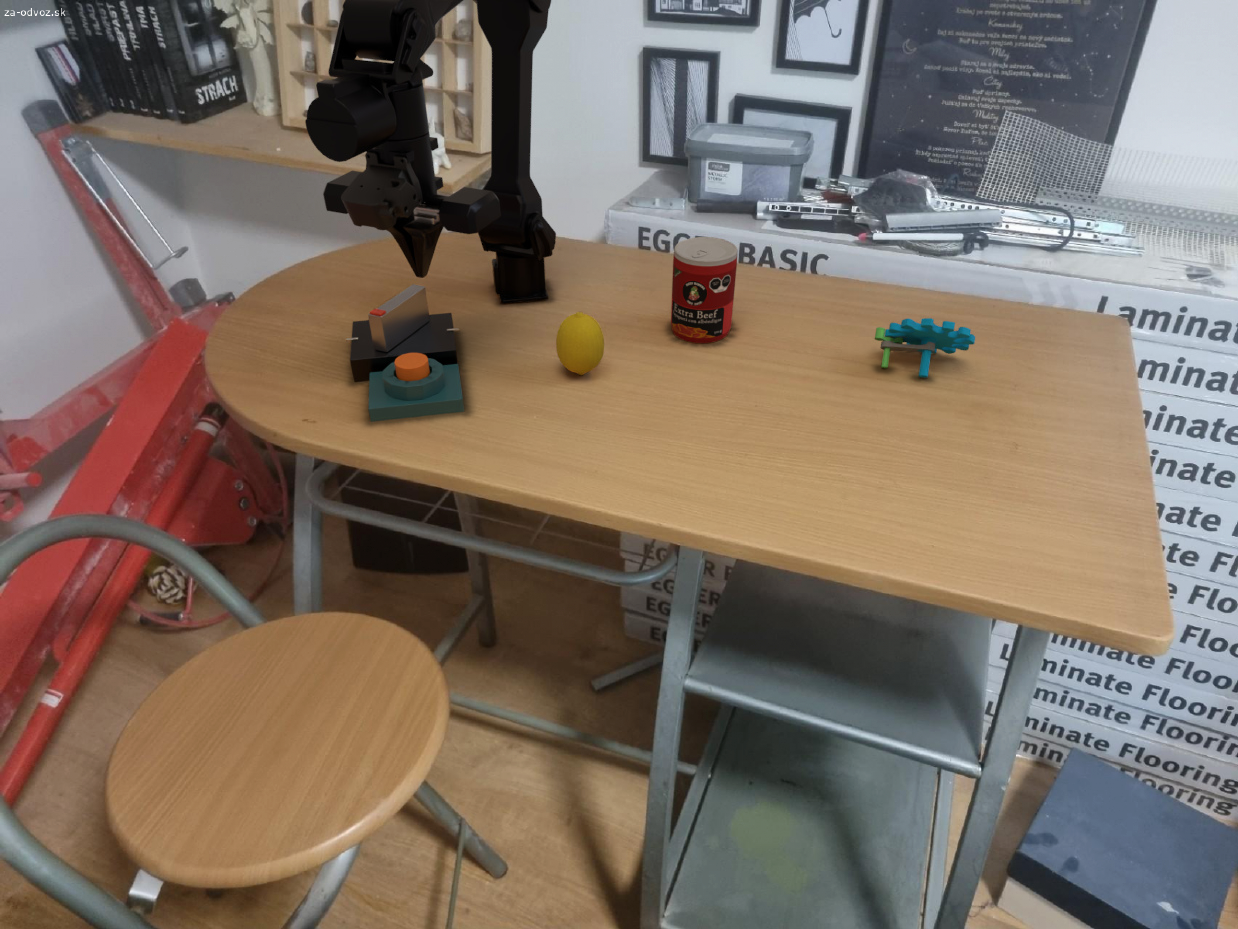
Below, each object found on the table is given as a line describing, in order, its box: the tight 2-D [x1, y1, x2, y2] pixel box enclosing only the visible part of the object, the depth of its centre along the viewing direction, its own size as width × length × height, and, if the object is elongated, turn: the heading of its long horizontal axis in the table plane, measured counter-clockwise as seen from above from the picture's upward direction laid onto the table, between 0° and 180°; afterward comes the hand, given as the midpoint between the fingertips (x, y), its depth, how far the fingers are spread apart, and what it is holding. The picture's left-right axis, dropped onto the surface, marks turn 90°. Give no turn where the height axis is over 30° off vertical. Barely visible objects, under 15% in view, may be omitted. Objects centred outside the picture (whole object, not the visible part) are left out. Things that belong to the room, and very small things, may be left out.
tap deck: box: [345, 312, 460, 383], centre depth 105 cm, size 13×13×3 cm
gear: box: [874, 317, 976, 379], centre depth 102 cm, size 11×6×10 cm
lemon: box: [555, 311, 605, 376], centre depth 100 cm, size 6×6×8 cm
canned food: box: [670, 236, 739, 344], centre depth 109 cm, size 8×8×11 cm
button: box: [394, 353, 430, 381], centre depth 96 cm, size 4×4×2 cm
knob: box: [367, 283, 430, 352], centre depth 103 cm, size 9×2×5 cm, turn 157°
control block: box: [367, 358, 465, 423], centre depth 97 cm, size 10×8×4 cm
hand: (421, 276), depth 98 cm, fingers closed
